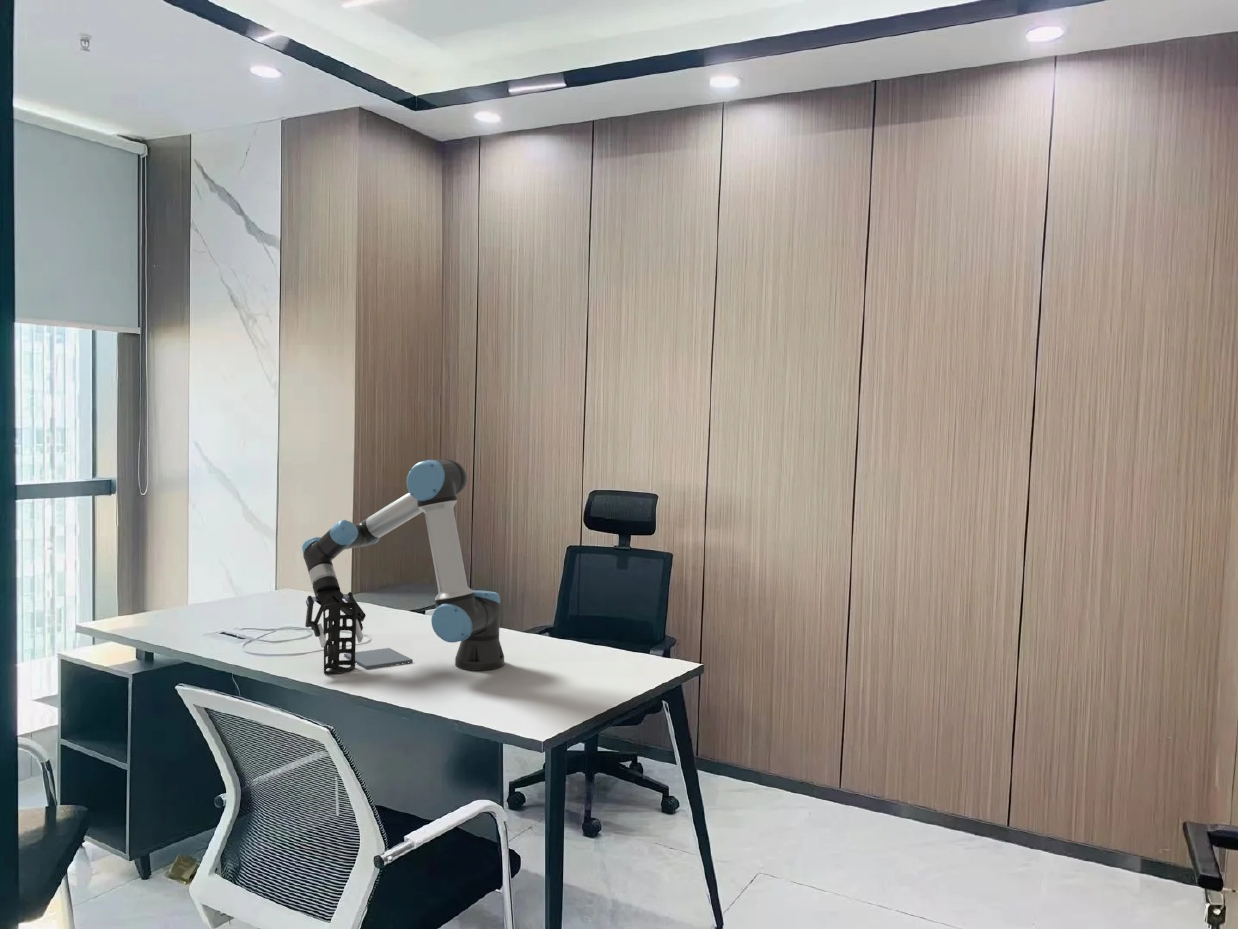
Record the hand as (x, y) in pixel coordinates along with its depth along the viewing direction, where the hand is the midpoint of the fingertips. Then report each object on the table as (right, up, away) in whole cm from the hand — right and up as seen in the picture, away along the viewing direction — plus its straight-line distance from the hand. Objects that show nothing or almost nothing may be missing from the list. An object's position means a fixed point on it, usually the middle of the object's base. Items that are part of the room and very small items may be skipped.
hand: (342, 642), depth 263 cm
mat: (+6, -9, +16) cm, 20 cm away
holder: (-2, -9, +2) cm, 10 cm away
